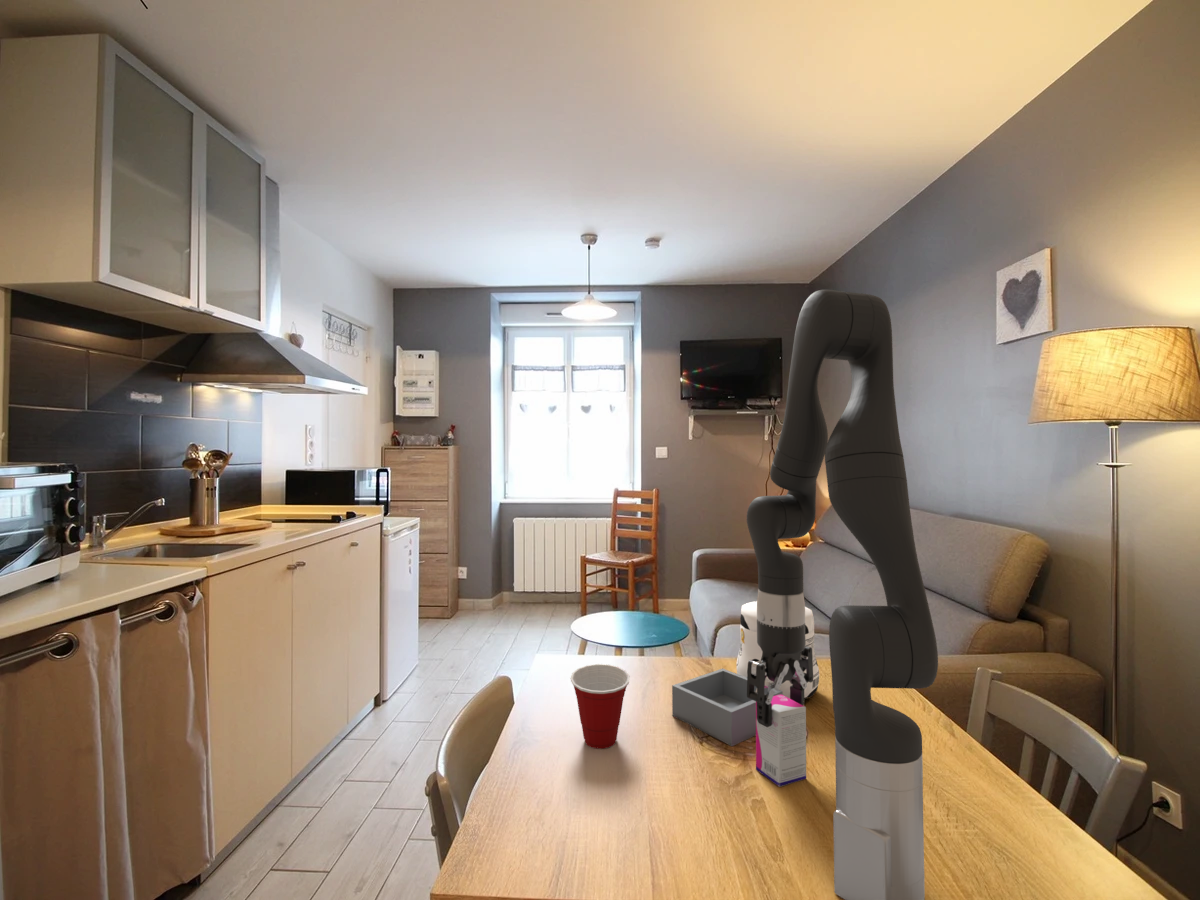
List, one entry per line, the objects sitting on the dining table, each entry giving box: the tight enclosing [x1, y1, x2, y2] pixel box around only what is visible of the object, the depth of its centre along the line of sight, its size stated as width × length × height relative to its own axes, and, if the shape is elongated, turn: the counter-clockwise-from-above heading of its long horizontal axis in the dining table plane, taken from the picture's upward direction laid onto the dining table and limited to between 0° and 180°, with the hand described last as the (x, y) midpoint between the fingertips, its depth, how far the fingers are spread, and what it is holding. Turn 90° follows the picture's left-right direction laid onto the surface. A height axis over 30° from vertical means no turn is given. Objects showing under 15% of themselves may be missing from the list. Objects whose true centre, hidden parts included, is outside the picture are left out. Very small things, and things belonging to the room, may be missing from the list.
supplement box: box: [755, 695, 807, 787], centre depth 90 cm, size 6×6×12 cm
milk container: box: [736, 600, 820, 700], centre depth 123 cm, size 17×17×18 cm
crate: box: [671, 668, 783, 747], centre depth 110 cm, size 15×15×6 cm
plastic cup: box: [569, 663, 631, 750], centre depth 101 cm, size 11×11×12 cm
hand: (781, 717), depth 91 cm, fingers open, 8 cm apart
